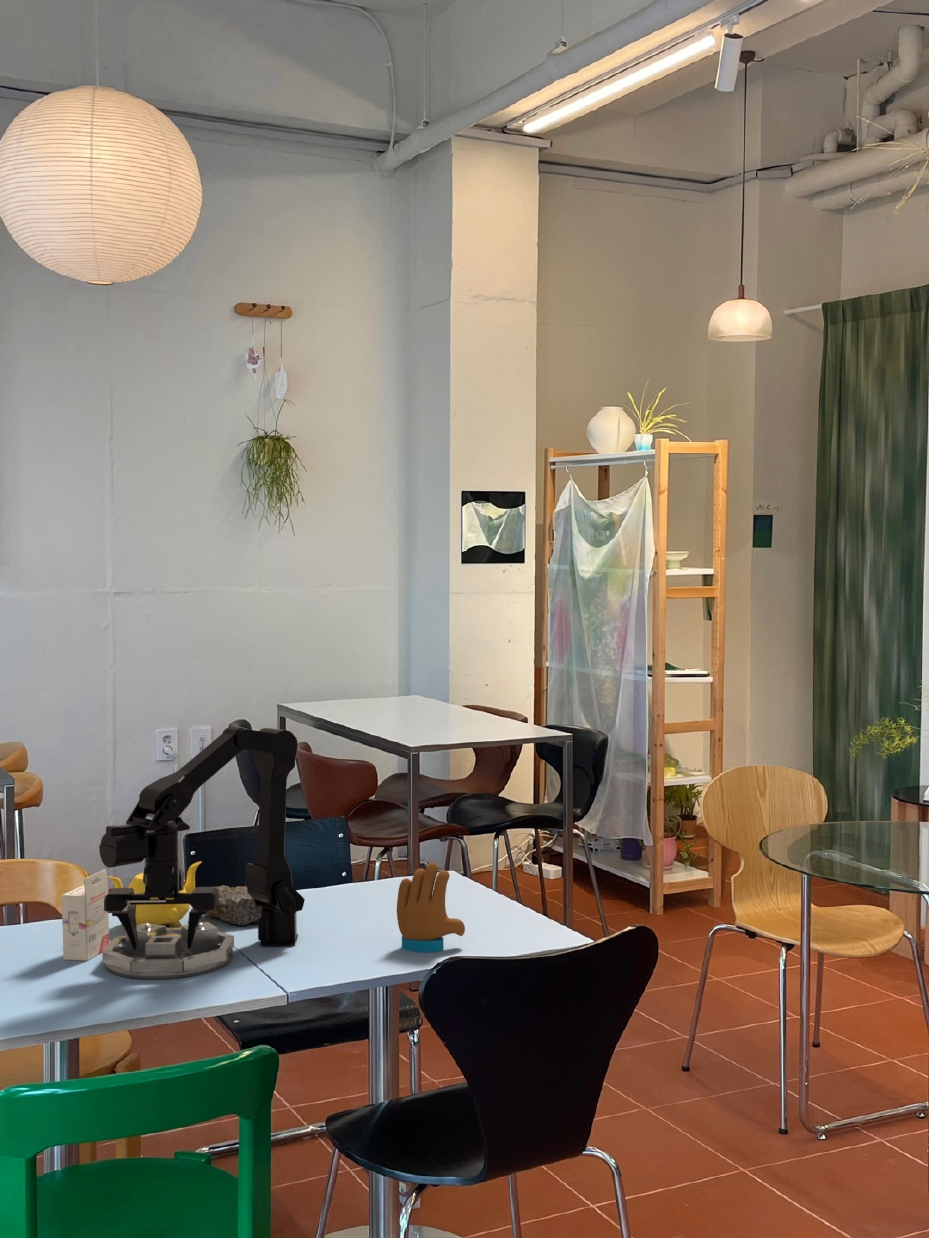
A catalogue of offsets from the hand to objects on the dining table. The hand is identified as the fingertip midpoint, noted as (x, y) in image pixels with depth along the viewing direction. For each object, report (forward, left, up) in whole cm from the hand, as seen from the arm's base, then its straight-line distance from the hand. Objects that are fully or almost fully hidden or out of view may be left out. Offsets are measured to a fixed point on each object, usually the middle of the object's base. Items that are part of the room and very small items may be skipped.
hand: (162, 948), depth 216 cm
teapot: (+7, -29, -4) cm, 30 cm away
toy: (-46, -12, -4) cm, 48 cm away
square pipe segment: (0, 0, -2) cm, 3 cm away
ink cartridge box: (+16, -11, -4) cm, 19 cm away
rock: (-8, -35, -4) cm, 36 cm away
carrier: (0, -6, -4) cm, 7 cm away
